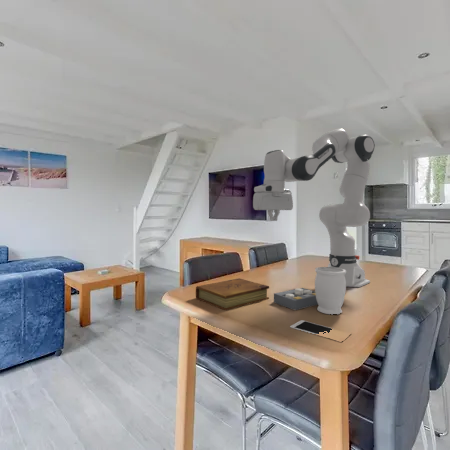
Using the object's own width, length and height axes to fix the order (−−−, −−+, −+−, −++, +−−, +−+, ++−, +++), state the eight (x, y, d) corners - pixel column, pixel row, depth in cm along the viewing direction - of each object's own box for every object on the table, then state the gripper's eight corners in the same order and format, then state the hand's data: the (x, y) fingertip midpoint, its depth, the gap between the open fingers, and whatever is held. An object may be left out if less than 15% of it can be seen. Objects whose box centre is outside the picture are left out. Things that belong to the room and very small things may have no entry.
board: (302, 296, 127) (302, 287, 126) (324, 302, 117) (324, 293, 117) (273, 302, 118) (273, 292, 118) (294, 310, 109) (295, 300, 108)
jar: (309, 306, 113) (310, 266, 112) (336, 306, 114) (337, 266, 113) (321, 316, 102) (322, 272, 101) (350, 316, 103) (352, 272, 102)
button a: (289, 300, 117) (289, 293, 117) (295, 303, 114) (295, 295, 114) (283, 302, 115) (283, 294, 115) (289, 304, 113) (289, 296, 112)
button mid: (298, 295, 120) (298, 288, 120) (305, 297, 117) (305, 289, 117) (292, 296, 118) (293, 289, 118) (299, 298, 115) (299, 291, 115)
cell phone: (341, 344, 82) (341, 342, 82) (289, 328, 93) (289, 326, 93) (352, 335, 88) (352, 333, 88) (301, 321, 99) (301, 319, 99)
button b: (307, 297, 123) (307, 289, 122) (313, 298, 120) (313, 291, 120) (301, 298, 121) (301, 290, 121) (308, 300, 118) (308, 292, 118)
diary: (237, 290, 137) (238, 278, 137) (268, 300, 123) (269, 286, 123) (195, 299, 122) (195, 285, 122) (225, 311, 108) (225, 295, 108)
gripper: (286, 189, 138) (285, 220, 139) (250, 187, 127) (250, 220, 128) (296, 189, 133) (296, 220, 134) (260, 186, 122) (260, 221, 122)
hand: (273, 220), depth 131 cm, fingers closed
